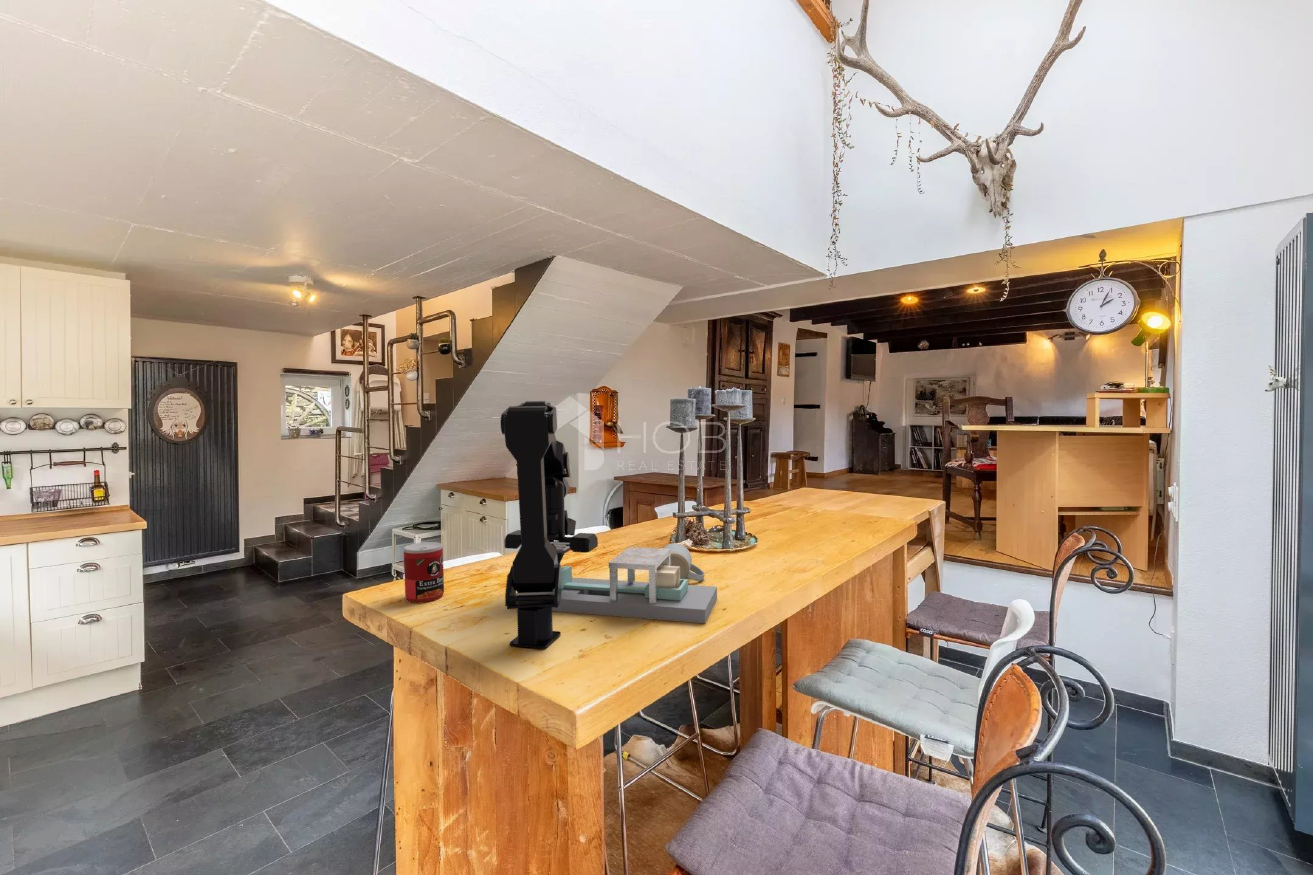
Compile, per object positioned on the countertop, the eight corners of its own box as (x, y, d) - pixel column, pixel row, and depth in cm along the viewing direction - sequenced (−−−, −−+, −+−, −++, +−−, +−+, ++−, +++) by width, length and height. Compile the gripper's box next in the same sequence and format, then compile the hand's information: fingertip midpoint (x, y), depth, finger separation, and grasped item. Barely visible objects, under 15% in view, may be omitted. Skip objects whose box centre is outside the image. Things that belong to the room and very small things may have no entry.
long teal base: (680, 600, 105) (680, 581, 105) (551, 591, 112) (551, 573, 112) (688, 589, 112) (687, 571, 112) (566, 581, 119) (565, 564, 119)
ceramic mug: (657, 584, 125) (657, 550, 124) (659, 574, 133) (659, 542, 132) (705, 585, 124) (705, 551, 124) (704, 575, 132) (704, 543, 132)
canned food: (418, 605, 113) (416, 552, 112) (397, 598, 118) (396, 546, 117) (452, 595, 119) (450, 544, 118) (431, 589, 124) (429, 540, 123)
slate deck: (705, 623, 101) (705, 609, 101) (513, 607, 111) (513, 595, 111) (717, 598, 114) (716, 586, 114) (545, 586, 124) (545, 575, 124)
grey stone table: (655, 604, 104) (654, 564, 103) (609, 601, 106) (608, 562, 106) (671, 584, 116) (670, 548, 116) (630, 581, 118) (629, 546, 118)
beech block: (674, 599, 107) (674, 573, 107) (649, 597, 108) (649, 571, 108) (680, 591, 112) (679, 566, 111) (656, 589, 113) (655, 565, 113)
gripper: (606, 502, 121) (607, 574, 121) (527, 500, 125) (528, 569, 126) (587, 511, 110) (588, 589, 111) (502, 508, 115) (503, 583, 115)
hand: (551, 581), depth 116 cm, fingers closed
